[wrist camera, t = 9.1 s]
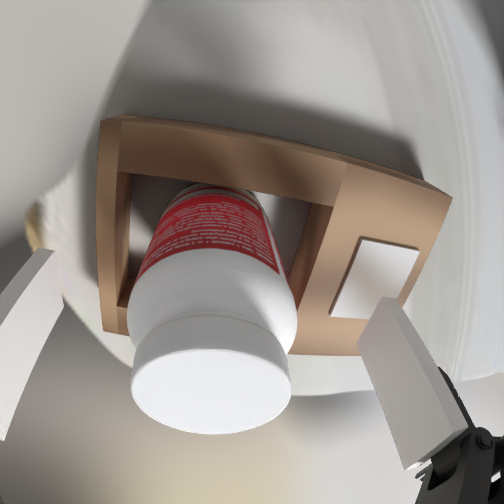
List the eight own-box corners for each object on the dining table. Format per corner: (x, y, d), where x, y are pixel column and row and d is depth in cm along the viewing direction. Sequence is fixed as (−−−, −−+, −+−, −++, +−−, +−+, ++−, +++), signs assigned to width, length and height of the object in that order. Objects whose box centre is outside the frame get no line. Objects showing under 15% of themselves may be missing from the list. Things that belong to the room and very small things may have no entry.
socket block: (121, 114, 14) (99, 121, 11) (424, 180, 17) (454, 199, 14) (115, 301, 19) (102, 333, 17) (360, 328, 23) (374, 357, 20)
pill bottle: (139, 215, 17) (63, 371, 7) (232, 156, 16) (249, 278, 6) (201, 291, 20) (193, 456, 10) (287, 246, 19) (344, 407, 9)
